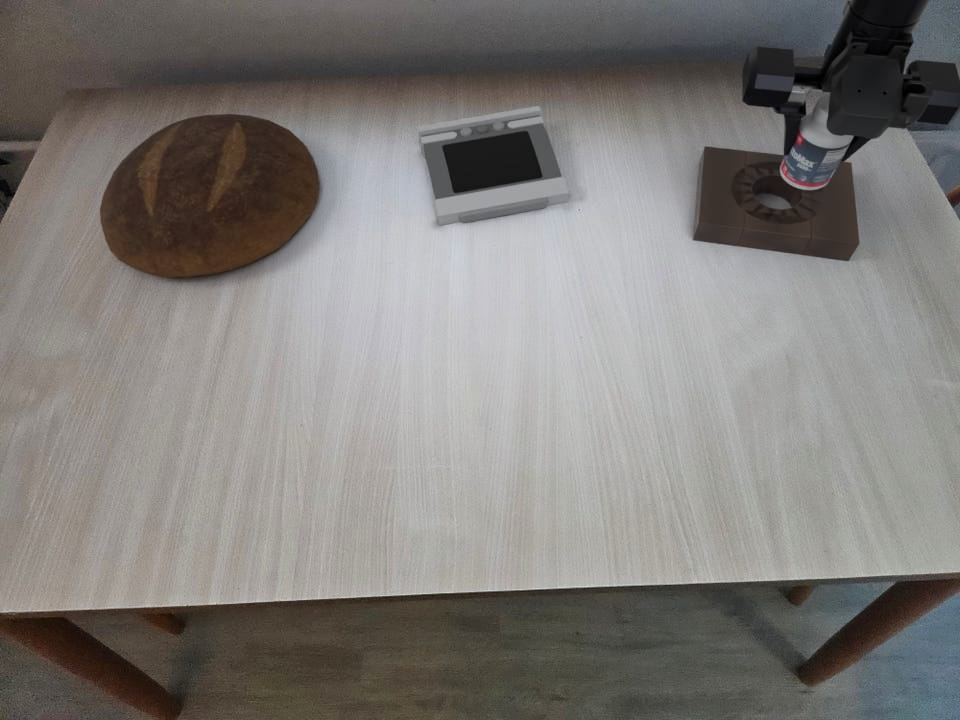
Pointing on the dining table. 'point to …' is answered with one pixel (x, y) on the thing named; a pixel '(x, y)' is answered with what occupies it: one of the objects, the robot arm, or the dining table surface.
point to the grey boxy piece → (491, 166)
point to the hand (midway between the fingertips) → (812, 155)
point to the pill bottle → (814, 150)
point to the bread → (208, 195)
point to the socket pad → (748, 223)
